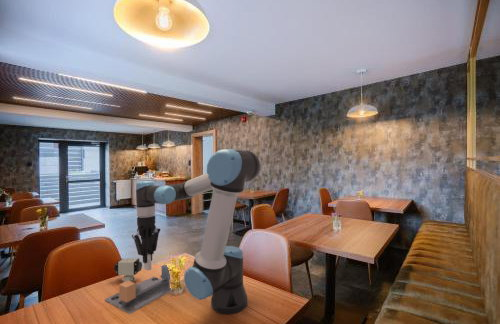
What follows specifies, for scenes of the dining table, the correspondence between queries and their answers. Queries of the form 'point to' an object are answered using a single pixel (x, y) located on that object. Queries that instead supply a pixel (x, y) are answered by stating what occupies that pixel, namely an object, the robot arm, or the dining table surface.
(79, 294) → the dining table surface
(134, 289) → the tan rectangular block
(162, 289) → the bolt plate
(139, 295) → the beam with fixed leg
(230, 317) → the dining table surface
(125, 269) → the pneumatic valve
